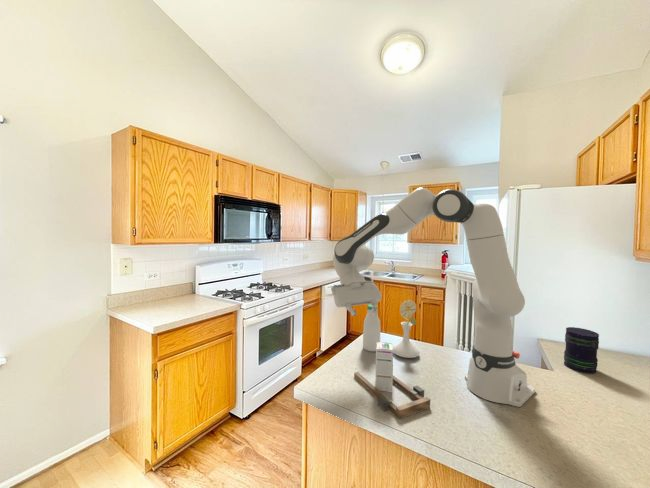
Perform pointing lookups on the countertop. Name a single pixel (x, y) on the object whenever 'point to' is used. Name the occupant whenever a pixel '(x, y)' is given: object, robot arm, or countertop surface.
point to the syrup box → (384, 366)
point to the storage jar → (581, 350)
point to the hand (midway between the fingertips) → (365, 313)
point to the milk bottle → (371, 330)
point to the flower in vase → (407, 332)
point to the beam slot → (387, 404)
